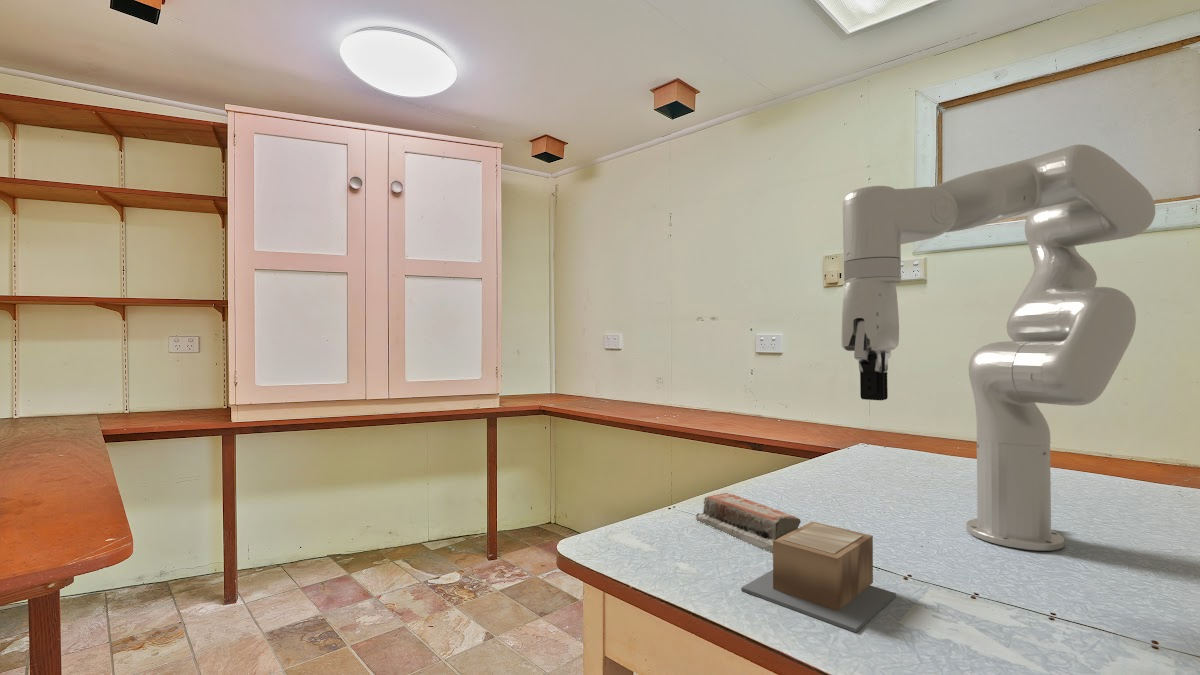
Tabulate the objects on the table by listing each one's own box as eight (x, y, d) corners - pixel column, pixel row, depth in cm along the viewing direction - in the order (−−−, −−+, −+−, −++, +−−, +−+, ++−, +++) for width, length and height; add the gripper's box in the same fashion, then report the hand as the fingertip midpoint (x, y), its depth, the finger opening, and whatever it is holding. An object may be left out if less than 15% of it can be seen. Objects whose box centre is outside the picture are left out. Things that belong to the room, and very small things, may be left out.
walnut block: (812, 520, 76) (773, 540, 69) (872, 535, 71) (837, 557, 63) (812, 564, 76) (773, 589, 68) (872, 582, 70) (837, 611, 63)
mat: (788, 563, 78) (788, 560, 78) (895, 596, 67) (895, 593, 67) (741, 590, 69) (741, 587, 69) (855, 632, 59) (855, 628, 59)
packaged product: (693, 495, 97) (735, 488, 102) (693, 522, 97) (735, 514, 102) (772, 523, 81) (816, 514, 86) (772, 556, 81) (816, 544, 86)
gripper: (865, 280, 88) (867, 394, 88) (823, 272, 78) (825, 401, 77) (917, 275, 82) (919, 397, 82) (879, 266, 72) (882, 405, 72)
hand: (874, 399), depth 80 cm, fingers closed
